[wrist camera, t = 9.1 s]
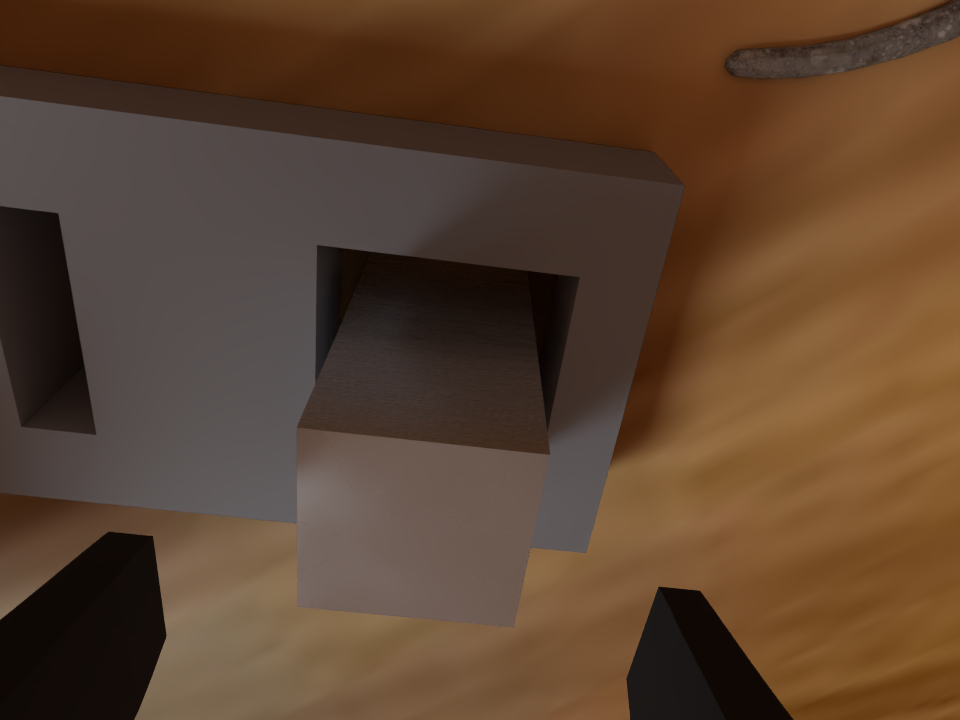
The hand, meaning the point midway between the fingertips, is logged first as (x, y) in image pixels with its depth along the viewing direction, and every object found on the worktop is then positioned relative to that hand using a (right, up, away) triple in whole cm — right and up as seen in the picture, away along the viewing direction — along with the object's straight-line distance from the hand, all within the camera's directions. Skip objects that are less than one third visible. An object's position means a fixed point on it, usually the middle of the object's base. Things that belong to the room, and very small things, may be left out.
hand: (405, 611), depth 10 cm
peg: (0, +5, +9) cm, 10 cm away
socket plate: (-4, +5, +8) cm, 11 cm away
